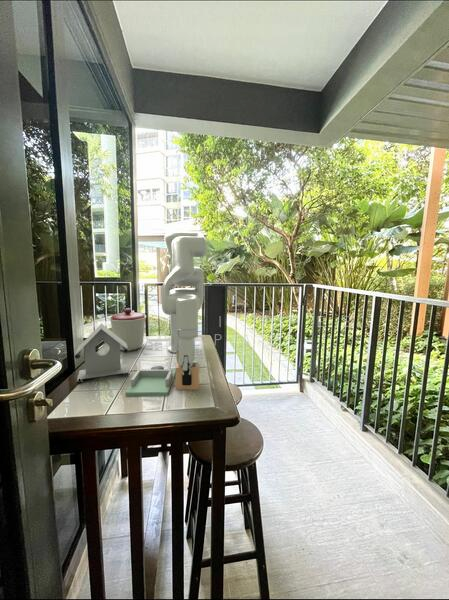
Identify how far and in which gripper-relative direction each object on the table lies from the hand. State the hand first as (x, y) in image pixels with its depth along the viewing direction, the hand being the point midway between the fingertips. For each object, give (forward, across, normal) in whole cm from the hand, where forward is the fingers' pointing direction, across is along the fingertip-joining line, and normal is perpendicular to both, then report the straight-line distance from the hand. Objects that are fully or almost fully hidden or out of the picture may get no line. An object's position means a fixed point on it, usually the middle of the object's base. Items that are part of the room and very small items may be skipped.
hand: (187, 380), depth 98 cm
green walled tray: (+2, -3, -13) cm, 13 cm away
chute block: (+2, 0, 0) cm, 2 cm away
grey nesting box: (+2, -10, -34) cm, 36 cm away
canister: (+2, -45, -35) cm, 57 cm away
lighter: (+2, -18, -3) cm, 18 cm away
